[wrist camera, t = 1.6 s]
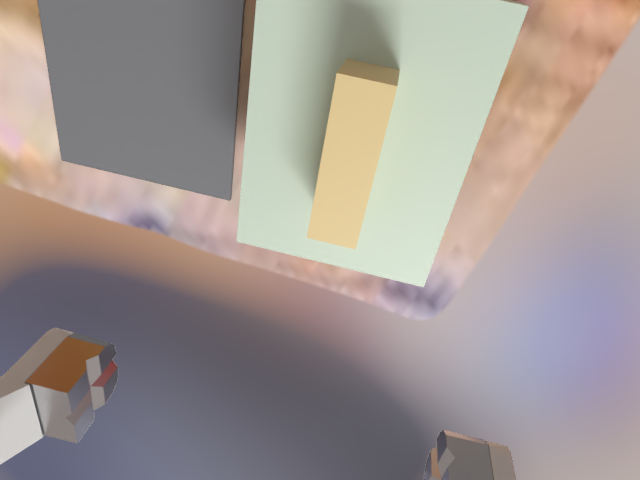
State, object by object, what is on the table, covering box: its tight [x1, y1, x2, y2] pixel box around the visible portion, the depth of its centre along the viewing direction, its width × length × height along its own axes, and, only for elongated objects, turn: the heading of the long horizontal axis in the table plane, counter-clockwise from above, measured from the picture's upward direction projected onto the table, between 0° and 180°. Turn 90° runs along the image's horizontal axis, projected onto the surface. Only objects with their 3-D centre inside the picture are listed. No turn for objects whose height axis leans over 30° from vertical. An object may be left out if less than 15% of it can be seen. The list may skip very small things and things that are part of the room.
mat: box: [38, 0, 245, 201], centre depth 34 cm, size 20×15×1 cm
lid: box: [237, 0, 529, 287], centre depth 26 cm, size 17×13×6 cm
